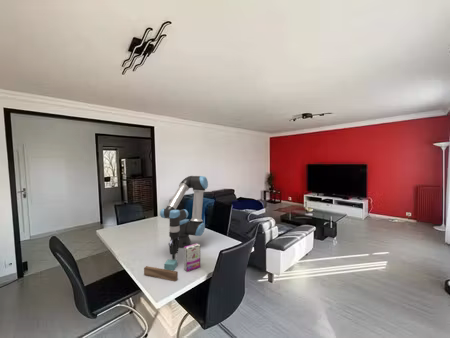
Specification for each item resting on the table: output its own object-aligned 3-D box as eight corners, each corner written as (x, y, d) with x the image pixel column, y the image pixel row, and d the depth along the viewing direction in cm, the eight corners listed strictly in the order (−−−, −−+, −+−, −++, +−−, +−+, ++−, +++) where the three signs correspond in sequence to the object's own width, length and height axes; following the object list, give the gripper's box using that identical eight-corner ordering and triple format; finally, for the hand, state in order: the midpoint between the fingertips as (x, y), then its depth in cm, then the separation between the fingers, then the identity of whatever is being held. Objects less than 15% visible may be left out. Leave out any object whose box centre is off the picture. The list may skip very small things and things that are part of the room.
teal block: (168, 265, 149) (168, 259, 149) (177, 265, 149) (177, 259, 148) (164, 270, 142) (164, 263, 142) (173, 270, 142) (173, 264, 142)
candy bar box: (197, 264, 150) (197, 242, 150) (200, 267, 146) (200, 245, 146) (183, 269, 144) (183, 246, 144) (186, 272, 140) (186, 248, 139)
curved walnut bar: (146, 273, 138) (146, 266, 138) (177, 279, 131) (177, 271, 131) (144, 275, 135) (144, 267, 135) (175, 281, 129) (175, 273, 129)
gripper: (174, 228, 157) (174, 257, 157) (165, 233, 145) (165, 265, 145) (183, 228, 155) (183, 259, 155) (174, 234, 142) (174, 267, 143)
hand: (174, 262), depth 150 cm, fingers closed
